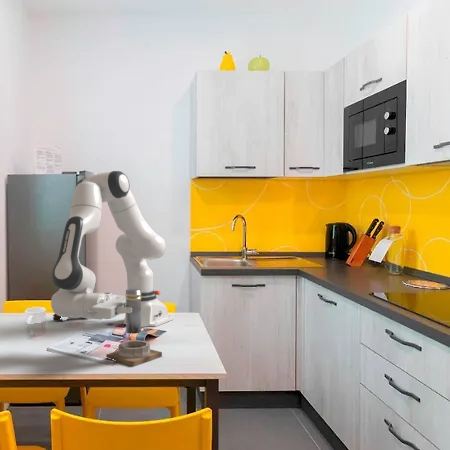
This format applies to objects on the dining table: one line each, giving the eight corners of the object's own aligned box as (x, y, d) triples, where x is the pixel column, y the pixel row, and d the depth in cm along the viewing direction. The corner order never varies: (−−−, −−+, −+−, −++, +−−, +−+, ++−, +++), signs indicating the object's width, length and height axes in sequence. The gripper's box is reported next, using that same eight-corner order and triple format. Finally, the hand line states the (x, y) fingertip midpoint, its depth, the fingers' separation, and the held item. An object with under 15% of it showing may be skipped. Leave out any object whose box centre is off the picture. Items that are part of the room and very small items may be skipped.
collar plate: (135, 349, 177) (134, 337, 177) (161, 356, 170) (161, 343, 170) (106, 358, 167) (106, 345, 167) (133, 366, 159) (133, 352, 159)
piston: (133, 328, 172) (133, 288, 171) (144, 331, 169) (144, 290, 168) (122, 332, 168) (122, 290, 167) (133, 334, 164) (133, 292, 164)
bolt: (53, 325, 220) (88, 321, 226) (54, 322, 216) (89, 317, 222) (52, 312, 222) (86, 308, 228) (53, 309, 218) (88, 305, 224)
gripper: (83, 303, 160) (123, 305, 157) (109, 291, 180) (146, 293, 177) (83, 322, 160) (123, 324, 157) (110, 309, 180) (146, 310, 178)
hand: (136, 308), depth 168 cm, fingers closed on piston, 5 cm apart
